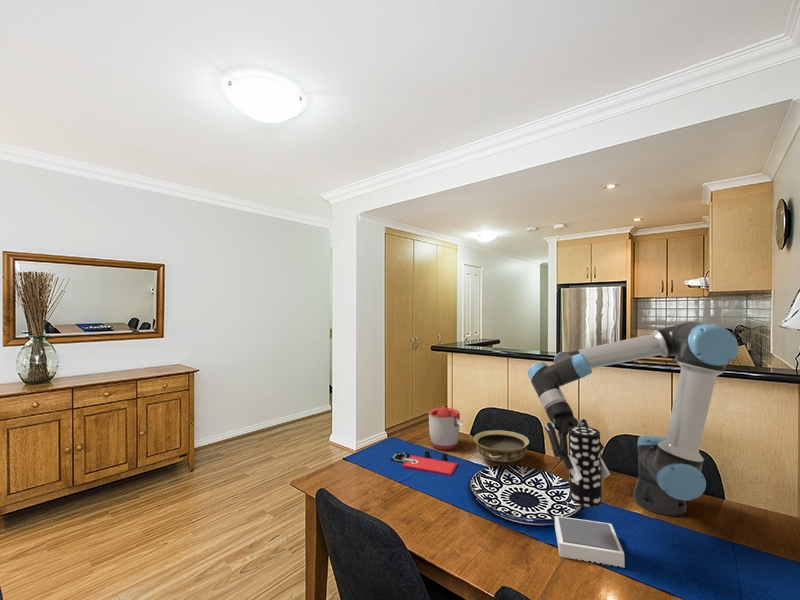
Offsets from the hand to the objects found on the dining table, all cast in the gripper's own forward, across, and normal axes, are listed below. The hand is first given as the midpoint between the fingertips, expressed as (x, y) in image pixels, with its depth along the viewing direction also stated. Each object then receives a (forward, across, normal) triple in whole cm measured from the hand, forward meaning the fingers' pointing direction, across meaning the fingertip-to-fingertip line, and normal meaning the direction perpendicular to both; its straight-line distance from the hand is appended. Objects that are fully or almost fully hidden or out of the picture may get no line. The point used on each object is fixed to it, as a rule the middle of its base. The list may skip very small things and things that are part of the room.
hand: (593, 478), depth 105 cm
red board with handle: (-33, +30, -65) cm, 79 cm away
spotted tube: (+3, 0, -8) cm, 9 cm away
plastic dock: (+13, 0, -17) cm, 22 cm away
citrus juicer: (-45, +14, -76) cm, 89 cm away
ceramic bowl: (-29, -4, -59) cm, 66 cm away
